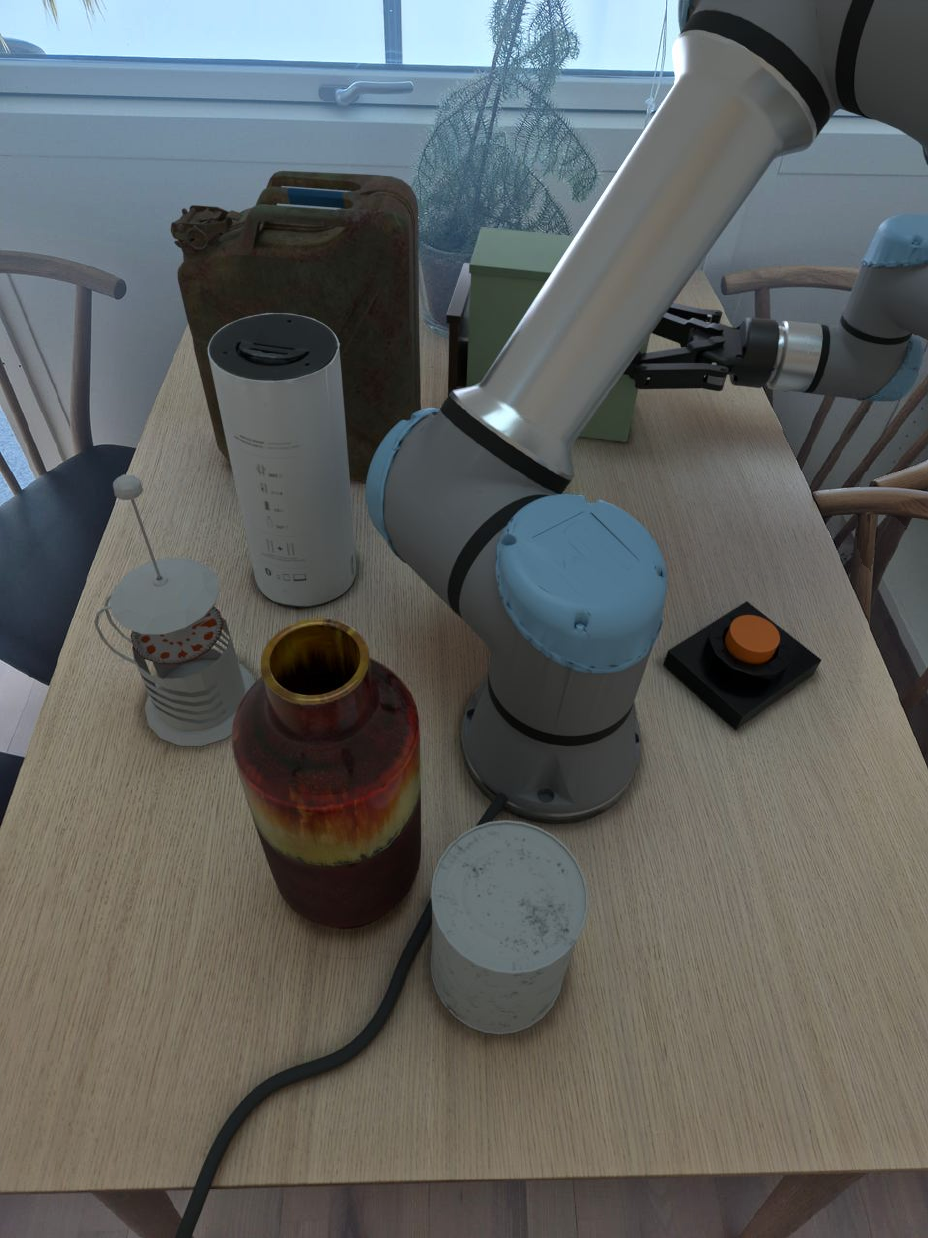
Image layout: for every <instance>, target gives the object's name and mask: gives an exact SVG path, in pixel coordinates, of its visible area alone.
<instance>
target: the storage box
mask: <svg viewBox="0 0 928 1238" xmlns="http://www.w3.org/2000/svg"><path fill="white" fill-rule="evenodd" d="M575 237H576V235H569V234H568V235H566V234H558V233H548V232H547V233H546V232H539V231H527V230H518V229H508V228H500V227H499V228H498V227H489V226H488V227H487V226H480V230H479V233H478V236H477V240H476V243H475V246H474V249H473V252H472V255H471V258H470V262H469V263H470V264H469V273H471V285H470V309H469V334H468V359H467V384H466V387H470V386H474V385H476V384H478V383H480V382H481V381H482V380H483V378H484V377H485V375H486V374H487V372H488V371H489V369H490V367H491V366H492V364H493V363H494V361H495V360H496V358H497V357H498V355H499V354H500V352H501V350H502V349H503V347H504V346H505V344H506V343H507V341H508V340H509V338H510V337H511V335H512V334H513V332H514V330H515V329H516V327H517V326H518V324H519V323H520V321H521V320H522V318H523V317H524V315H525V314H526V312H527V310H528V309H529V307H530V306H531V304H532V303H533V301H534V300H535V298H536V297H537V295H538V294H539V292H540V290H541V289H542V287H543V286H544V284H545V283H546V281H547V280H548V278H549V277H550V275H551V273H552V272H553V270H554V269H555V267H556V266H557V264H558V263H559V261H560V260H561V258H562V257H563V255H564V253H565V252H566V250H567V249H568V247H569V246H570V244H571V243H572V241H573V240H574V238H575ZM650 338H651V335H650V336H649V337H648V339H647V340H646V342H645V343H644V345H643V346H642V347H641V349H640V350H639V351H640V352H641V354H643V353H648V346H649V342H650ZM638 392H639V389H637V388H636V387H635V381H634V379H631V378H630V377H629V375H624V374H622V376H621V377H620V379H619V380H618V381H617V383H616V384H615V386H614V387H613V389H612V390H611V391H610V393H609V394H608V396H607V397H606V399H605V400H604V401H603V403H602V404H601V406H600V407H599V408H598V410H597V411H596V413H595V414H594V416H593V417H592V418H591V420H590V421H589V423H588V424H587V426H586V427H585V428H584V430H583V431H582V433H581V434H580V435H579V437H580V438H588V439H594V440H595V439H596V440H597V439H598V440H603V441H605V440H606V441H613V442H622V443H627V442H628V438H629V433H630V428H631V424H632V420H633V415H634V410H635V406H636V401H637V396H638ZM579 437H578V438H579Z"/></svg>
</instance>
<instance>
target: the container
mask: <svg viewBox="0 0 928 1238" xmlns="http://www.w3.org/2000/svg"><path fill="white" fill-rule="evenodd" d="M418 203H419V202H418V199H417V195H416V193H415V192H414V190H413V189H412V187H411V185H410V184H408V183H407V182H406V181H404V180H403V179H401V178H398V177H395V176H391V175H381V174H367V173H366V174H365V173H362V174H361V173H344V172H343V173H340V172H320V171H319V172H318V171H295V170H278V171H275V172H274V173H273V174H272V175H271V177H270V178H269V179H268V182H267V184H266V187H265V188H264V189H263V190H262V191H261V192H260V194H259V196H258V198H257V200H256V203H255V205H254V206H252V207H250V208H249V207H248V208H246V209H243V210H241V211H240V212H239V211H235V210H229V211H228V210H226V209H224V208H221V207H219V206H212V205H211V206H210V205H197V204H196V205H195V204H193V205H190V207H189V210H188V209H186V208H185V207H183V208H182V209H181V216H180V217H179V219H177V220H175V221H172V222H171V224H170V233H171V236H172V238H173V239H175V240H174V244H175V246H176V247H178V248H179V249H181V252H182V257H183V258H182V259H183V261H182V262H181V264H180V265H179V267H178V268H177V273H176V274H177V283H178V287H179V291H180V295H181V299H182V303H183V307H184V312H185V316H186V321H187V324H188V328H189V331H190V334H191V337H192V344H193V350H194V355H195V359H196V363H197V367H198V372H199V375H200V379H201V384H202V387H203V392H204V395H205V400H206V404H207V408H208V413H209V418H210V421H211V425H212V429H213V433H214V437H215V441H216V446H217V448H218V450H219V451H220V453H221V454H222V456H223V458H224V459H225V460H226V461H227V462H228V464H230V465H231V462H230V457H229V452H228V447H227V442H226V437H225V433H224V428H223V423H222V418H221V413H220V408H219V403H218V399H217V394H216V389H215V384H214V379H213V375H212V370H211V365H210V360H209V356H208V345H209V343H210V340H211V339H212V337H213V336H214V335H215V334H216V333H217V332H218V331H219V330H220V329H221V328H222V327H224V326H226V325H227V324H230V323H232V322H234V321H236V320H239V319H242V318H246V317H249V316H255V315H260V314H266V313H285V314H295V315H300V316H305V317H309V318H313V319H315V320H317V321H319V322H321V323H323V324H324V325H326V326H327V327H329V328H330V329H331V330H332V331H333V333H334V334H335V335H336V337H337V339H338V341H339V343H340V345H339V351H340V363H341V374H342V387H343V400H344V413H345V425H346V438H347V451H348V464H349V477H350V480H352V481H353V480H354V481H360V482H366V480H367V475H368V471H369V467H370V464H371V462H372V459H373V457H374V454H375V452H376V450H377V449H378V447H379V445H380V444H381V442H382V440H383V439H384V438H385V436H386V435H387V434H388V433H389V431H390V430H391V429H392V428H393V427H394V426H395V425H396V424H397V423H399V422H400V421H401V420H406V421H409V420H410V419H411V415H412V414H413V413H415V412H417V411H419V410H422V397H421V396H422V393H421V347H420V346H421V343H420V342H421V341H420V272H419V271H420V262H419V261H420V251H419V250H420V247H419V246H420V242H419V241H420V240H419V239H420V238H419V237H420V235H419V234H420V233H419V223H420V222H419V204H418ZM317 207H318V208H317ZM330 208H331V209H330Z"/></svg>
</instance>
